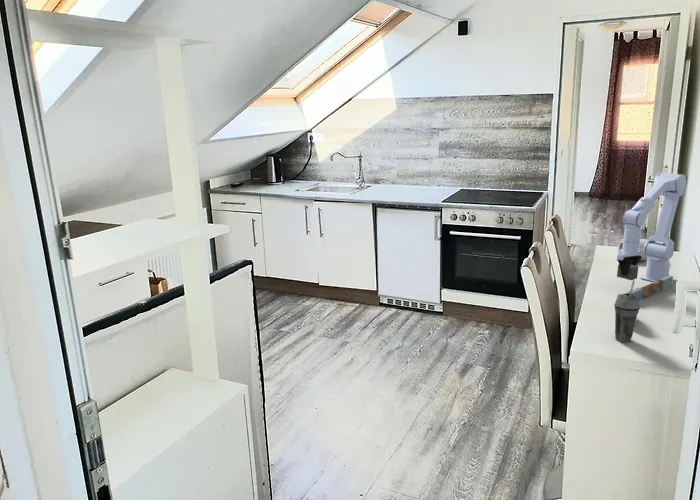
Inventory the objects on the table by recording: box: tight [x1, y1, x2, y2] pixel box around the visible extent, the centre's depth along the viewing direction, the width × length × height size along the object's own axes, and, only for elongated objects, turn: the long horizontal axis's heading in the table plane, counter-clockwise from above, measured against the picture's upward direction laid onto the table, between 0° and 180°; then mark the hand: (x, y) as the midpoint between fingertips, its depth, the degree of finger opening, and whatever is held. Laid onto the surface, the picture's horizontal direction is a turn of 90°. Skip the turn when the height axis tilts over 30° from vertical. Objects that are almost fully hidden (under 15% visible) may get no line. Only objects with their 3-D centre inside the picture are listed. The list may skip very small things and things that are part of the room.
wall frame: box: [628, 274, 674, 302], centre depth 214 cm, size 30×2×4 cm, turn 125°
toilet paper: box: [617, 238, 647, 262], centre depth 256 cm, size 10×10×10 cm
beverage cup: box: [614, 279, 641, 344], centre depth 174 cm, size 7×7×20 cm
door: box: [640, 280, 661, 299], centre depth 213 cm, size 15×1×4 cm, turn 125°
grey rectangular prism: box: [616, 264, 639, 281], centre depth 218 cm, size 4×6×5 cm, turn 35°
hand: (627, 274), depth 219 cm, fingers closed on grey rectangular prism, 4 cm apart
